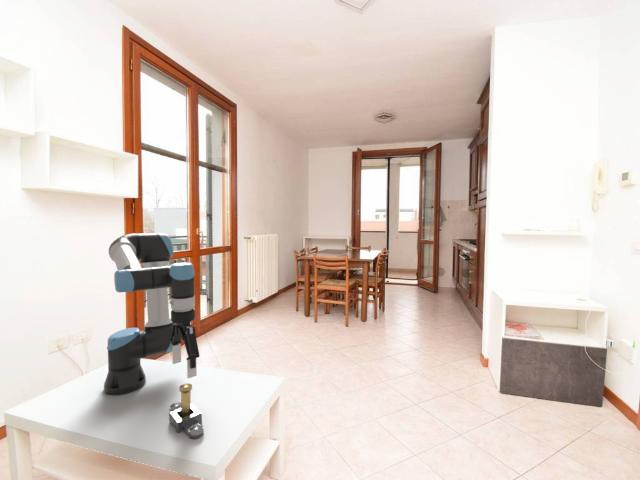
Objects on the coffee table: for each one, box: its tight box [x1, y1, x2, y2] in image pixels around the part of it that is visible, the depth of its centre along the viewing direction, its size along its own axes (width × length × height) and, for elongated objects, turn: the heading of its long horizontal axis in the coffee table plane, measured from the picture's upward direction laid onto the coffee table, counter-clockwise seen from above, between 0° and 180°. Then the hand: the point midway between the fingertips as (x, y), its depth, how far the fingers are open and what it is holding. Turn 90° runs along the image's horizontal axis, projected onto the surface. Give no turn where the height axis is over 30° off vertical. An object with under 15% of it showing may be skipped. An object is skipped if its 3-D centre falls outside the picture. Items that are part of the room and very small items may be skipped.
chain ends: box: [168, 401, 205, 440], centre depth 111 cm, size 22×8×4 cm, turn 43°
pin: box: [178, 383, 193, 418], centre depth 111 cm, size 4×4×13 cm
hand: (184, 369), depth 110 cm, fingers open, 13 cm apart
